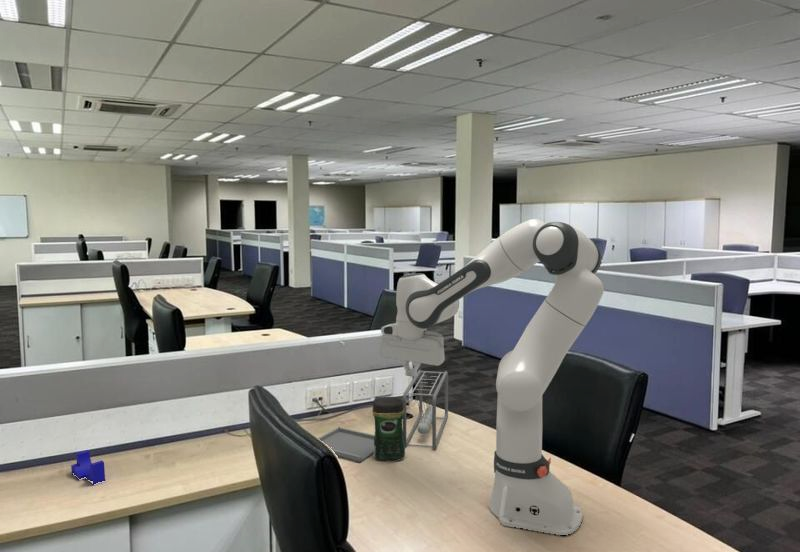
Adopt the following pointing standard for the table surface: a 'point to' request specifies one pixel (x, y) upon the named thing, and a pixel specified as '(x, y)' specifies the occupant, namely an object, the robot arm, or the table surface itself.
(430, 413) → the newton's cradle
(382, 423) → the coffee jar
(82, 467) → the cable clip
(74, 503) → the table surface
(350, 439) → the shallow gray tray
